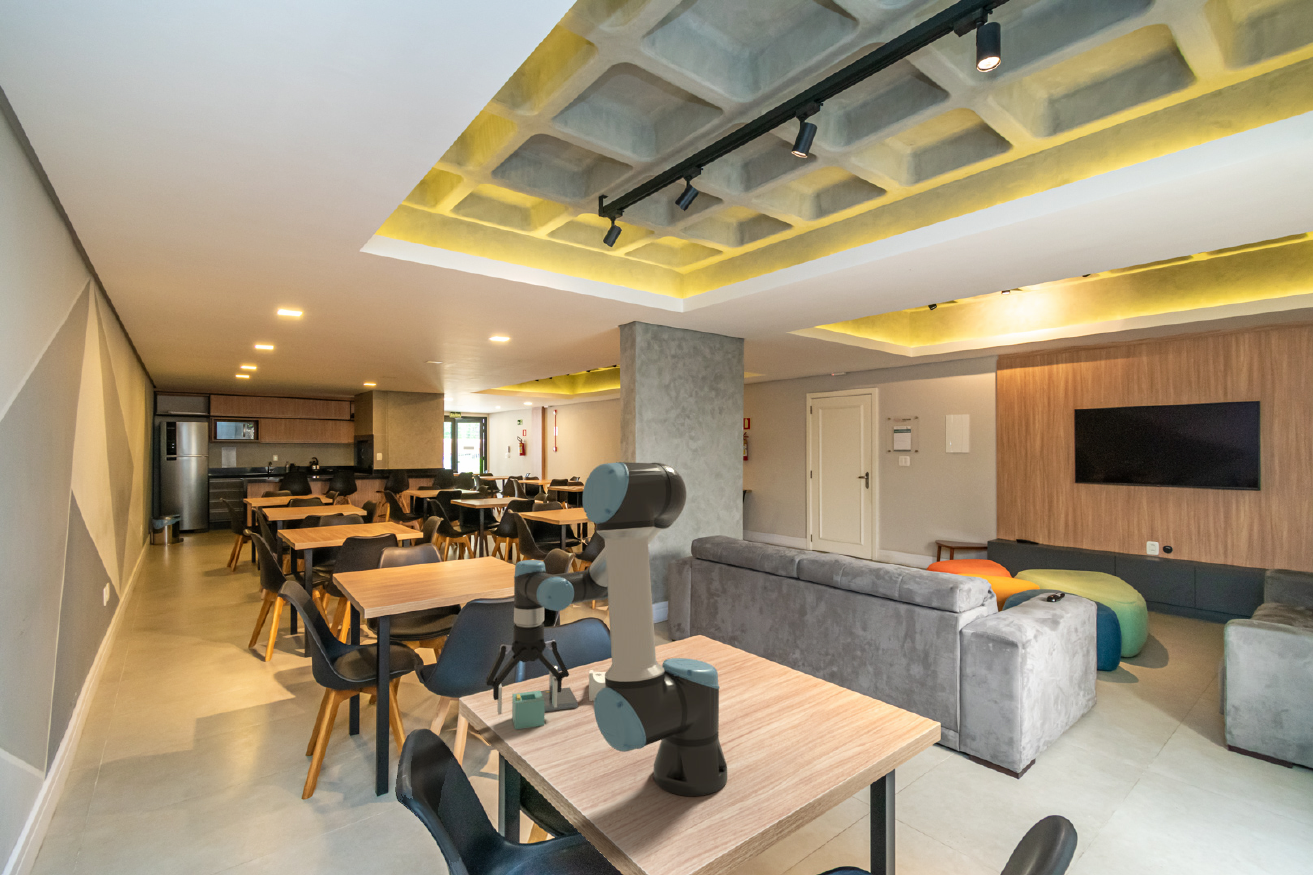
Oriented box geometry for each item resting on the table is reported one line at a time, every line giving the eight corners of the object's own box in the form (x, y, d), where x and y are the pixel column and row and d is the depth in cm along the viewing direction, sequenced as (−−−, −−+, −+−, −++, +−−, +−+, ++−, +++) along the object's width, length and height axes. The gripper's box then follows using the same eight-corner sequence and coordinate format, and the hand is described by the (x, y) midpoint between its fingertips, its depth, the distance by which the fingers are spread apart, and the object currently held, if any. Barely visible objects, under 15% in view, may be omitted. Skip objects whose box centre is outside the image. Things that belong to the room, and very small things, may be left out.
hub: (544, 725, 149) (544, 697, 149) (515, 729, 147) (515, 701, 147) (540, 714, 156) (540, 688, 156) (512, 717, 153) (512, 691, 154)
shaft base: (577, 707, 160) (577, 670, 160) (535, 713, 156) (535, 675, 157) (569, 692, 170) (569, 658, 171) (529, 697, 167) (530, 662, 167)
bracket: (615, 701, 165) (615, 673, 165) (588, 701, 165) (589, 673, 165) (617, 683, 178) (617, 657, 178) (593, 684, 178) (593, 657, 178)
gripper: (575, 615, 160) (573, 696, 159) (476, 623, 152) (474, 709, 151) (581, 623, 153) (579, 708, 152) (478, 631, 145) (476, 721, 144)
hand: (527, 708), depth 152 cm, fingers open, 13 cm apart
